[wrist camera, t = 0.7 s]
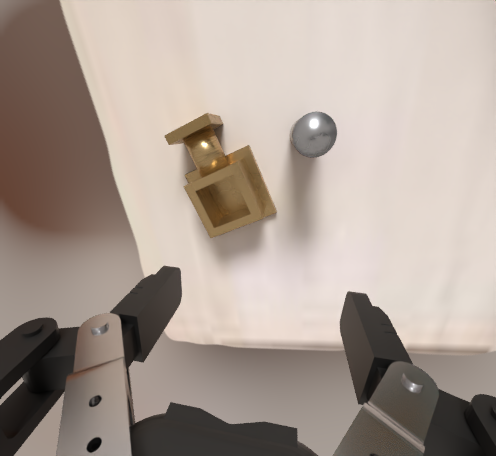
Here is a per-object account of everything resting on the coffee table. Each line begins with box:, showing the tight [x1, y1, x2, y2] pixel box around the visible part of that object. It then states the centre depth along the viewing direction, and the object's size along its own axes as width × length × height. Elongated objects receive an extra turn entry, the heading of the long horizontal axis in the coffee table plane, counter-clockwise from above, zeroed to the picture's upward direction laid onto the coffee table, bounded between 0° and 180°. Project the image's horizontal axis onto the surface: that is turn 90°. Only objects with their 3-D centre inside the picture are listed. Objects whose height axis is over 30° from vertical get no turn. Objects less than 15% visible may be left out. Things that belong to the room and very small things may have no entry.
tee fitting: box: [165, 113, 277, 238], centre depth 30 cm, size 9×13×5 cm
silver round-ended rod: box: [290, 112, 337, 157], centre depth 24 cm, size 3×3×10 cm
